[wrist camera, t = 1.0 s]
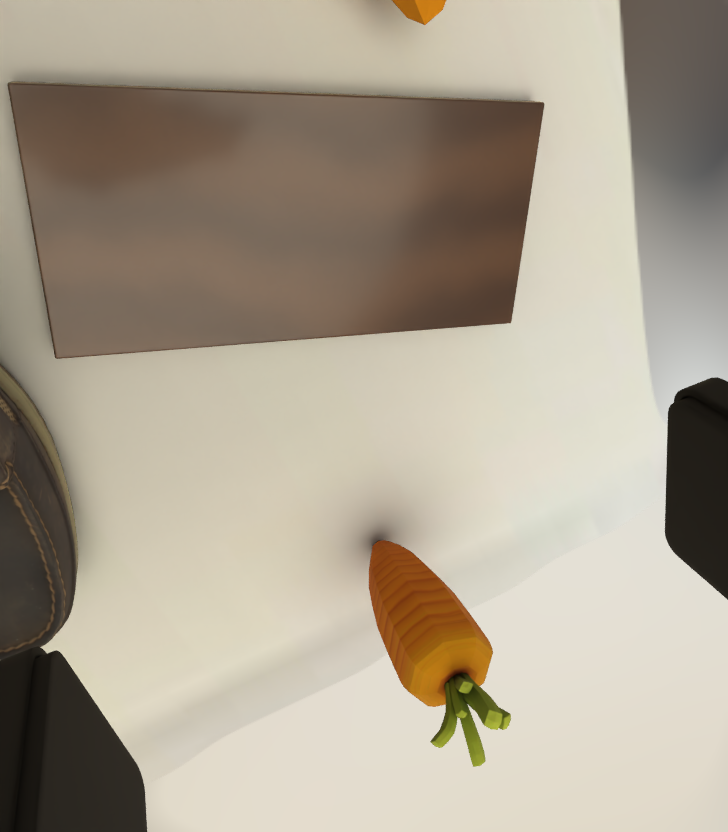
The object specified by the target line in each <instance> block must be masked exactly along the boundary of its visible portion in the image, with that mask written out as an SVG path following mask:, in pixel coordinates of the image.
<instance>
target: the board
mask: <svg viewBox="0 0 728 832" xmlns="http://www.w3.org/2000/svg"><path fill="white" fill-rule="evenodd" d="M8 90H9V96H10V101H11V107H12V113H13V119H14V124H15V130H16V136H17V141H18V147H19V153H20V159H21V164H22V170H23V176H24V182H25V187H26V193H27V199H28V205H29V210H30V216H31V222H32V227H33V233H34V239H35V245H36V250H37V256H38V262H39V268H40V273H41V279H42V285H43V290H44V296H45V302H46V308H47V313H48V319H49V325H50V331H51V336H52V342H53V348H54V354H55V358H57V359H59V358H72V357H85V356H97V355H110V354H123V353H136V352H148V351H161V350H174V349H186V348H199V347H212V346H225V345H237V344H250V343H263V342H275V341H288V340H301V339H314V338H326V337H339V336H352V335H365V334H377V333H390V332H403V331H415V330H428V329H441V328H454V327H466V326H479V325H492V324H505V323H511V320H512V313H513V307H514V300H515V294H516V287H517V280H518V274H519V267H520V261H521V254H522V248H523V241H524V234H525V228H526V221H527V215H528V208H529V201H530V195H531V188H532V182H533V175H534V169H535V162H536V155H537V149H538V142H539V136H540V129H541V122H542V116H543V109H544V103H543V102H535V101H517V100H491V99H464V98H437V97H411V96H384V95H357V94H331V93H304V92H277V91H251V90H224V89H197V88H171V87H144V86H117V85H91V84H64V83H37V82H10V83H8Z"/></svg>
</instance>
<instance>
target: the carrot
mask: <svg viewBox="0 0 728 832" xmlns="http://www.w3.org/2000/svg"><path fill="white" fill-rule="evenodd" d="M369 591H370V596H371V601H372V606H373V610H374V614H375V618H376V622H377V626H378V629H379V632H380V634H381V637H382V639H383V642H384V644H385V647H386V649H387V652H388V654H389V657H390V658H391V661H392V663H393V666H394V668H395V670H396V672H397V674H398V677H399V679H400V681H401V683H402V684H403V686H404V687H405V688H406V689H407V690H408V691H409V692H410V693H411V694H412V695H414V696H415V697H416V698H418V699H419V700H420V701H422V702H423V703H425V704H426V705H427V706H433V707H435V706H440V705H446V713H445V716H444V720H443V723H442V726H441V728H440V730H439V732H438V733H437V734H436V735H435V736H434V738H433V739H432V740H431V743H432V744H433V745H434V746H436V747H439V748H441V747H443V746H444V745H445V744H446V743H447V742H448V741H449V740H450V738H451V737H452V736H453V734H454V732H455V728H456V724H457V717H458V718H460V720H461V724H462V727H463V731H464V734H465V738H466V742H467V745H468V749H469V753H470V757H471V761H472V764H473V766H480V765H482V764H483V763H484V762H485V755H484V750H483V747H482V743H481V740H480V737H479V735H478V732H477V729H476V726H475V723H474V721H473V718H472V715H471V713H470V710H469V707H468V705H469V706H471V707H472V709H473V710H475V711H476V712H477V714H478V716H479V717H480V719H481V721H482V723H483V724H484V725H485V726H486V727H488V728H490V729H496V730H497V729H498V728H500V729H502V730H504V729H506V728H507V727H508V726H509V723H510V720H511V715H510V713H508V712H506V711H504V710H503V709H501V708H498V706H497V705H496V703H495V702H494V701H493V700H492V698H491V697H490V696H489V695H488V694H487V693H486V692H485V691H484V690H483V689H482V688H481V687H479V686H480V685H482V684H483V683H484V681H485V678H486V674H487V671H488V668H489V664H490V661H491V657H492V654H493V651H492V647H491V644H490V642H489V641H488V639H487V637H486V636H485V634H484V633H483V632H482V630H481V629H480V627H479V626H478V625H477V623H476V622H475V620H474V619H473V618H472V616H471V615H470V613H469V612H468V611H467V610H466V608H465V607H464V606H463V604H462V603H461V602H460V600H459V599H458V598H457V596H456V595H455V594H454V593H453V592H452V590H451V589H450V588H449V587H448V586H447V585H446V584H445V583H444V582H443V581H442V580H441V579H440V578H439V577H438V576H437V575H436V574H435V573H433V572H432V571H431V570H430V569H429V568H428V567H427V566H426V565H425V564H424V563H423V562H422V561H421V560H420V559H419V558H418V557H416V556H415V555H414V554H413V553H412V552H411V551H409V550H407V549H405V548H404V547H402V546H400V545H398V544H395V543H392V542H389V541H386V540H382V541H378V542H377V543H375V544H374V545H373V547H372V553H371V560H370V567H369ZM467 704H468V705H467Z"/></svg>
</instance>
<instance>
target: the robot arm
mask: <svg viewBox="0 0 728 832" xmlns="http://www.w3.org/2000/svg"><path fill="white" fill-rule="evenodd" d="M665 536H666V539H667V542H668V544H669V546H670V547H671V549H672V550H673V552H674V553H675V554H676V555H677V556H678V557H679V558H681V559H682V560H683V561H684V562H685V563H686V564H687V565H689V566H690V567H691V568H692V569H693V570H694V571H696V572H697V573H698V574H699V575H700V576H701V577H703V578H704V579H705V580H706V581H707V582H708V583H709V584H711V585H712V586H713V587H714V588H715V589H716V590H717V591H719V592H720V593H721V594H722V595H723V596H724V597H725V598H727V599H728V382H727V381H725V380H723V379H720V378H710V379H707V380H705V381H702V382H700V383H697V384H695V385H692V386H690V387H687V388H685V389H682V390H680V391H679V392H678V393H677V394H676V396H675V399H674V403H673V404H672V405H671V406H670V407H669V411H668V437H667V475H666V514H665ZM0 832H147V822H146V803H145V789H144V783H143V779H142V776H141V773H140V770H139V768H138V766H137V764H136V762H135V761H134V759H133V758H132V756H131V755H130V753H129V752H128V751H127V749H126V748H125V746H124V745H123V743H122V742H121V740H120V739H119V737H118V736H117V734H116V733H115V731H114V730H113V728H112V727H111V725H110V724H109V723H108V721H107V720H106V718H105V717H104V715H103V714H102V712H101V711H100V709H99V708H98V706H97V705H96V703H95V702H94V700H93V699H92V697H91V696H90V695H89V693H88V692H87V690H86V689H85V687H84V686H83V684H82V683H81V681H80V680H79V678H78V677H77V675H76V674H75V672H74V671H73V670H72V668H71V667H70V665H69V664H68V662H67V661H66V659H65V658H64V656H63V655H62V654H61V653H60V652H59V651H53V652H50V653H48V654H47V653H46V652H45V651H44V650H43V649H42V648H40V647H38V646H37V647H33V648H30V649H28V650H25V651H23V652H20V653H17V654H15V655H12V656H10V657H7V658H5V659H2V660H0Z"/></svg>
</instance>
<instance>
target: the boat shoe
mask: <svg viewBox="0 0 728 832" xmlns="http://www.w3.org/2000/svg"><path fill="white" fill-rule="evenodd" d="M77 568H78V548H77V536H76V528H75V520H74V515H73V510H72V504H71V499H70V495H69V491H68V487H67V483H66V480H65V476H64V473H63V469H62V466H61V463H60V460H59V457H58V453H57V450H56V447H55V444H54V442H53V439H52V436H51V435H50V433H49V431H48V429H47V427H46V424H45V422H44V420H43V418H42V417H41V415H40V413H39V411H38V409H37V408H36V406H35V405H34V403H33V402H32V400H31V399H30V398H29V396H28V395H27V394H26V392H25V391H24V390H23V389H22V387H21V386H20V385H19V384H18V382H17V381H16V380H15V379H14V378H13V377H12V376H11V375H10V374H9V373H8V372H7V371H6V370H5V369H4V368H3V367H2V366H1V365H0V660H2V659H5V658H7V657H10V656H12V655H15V654H17V653H20V652H23V651H25V650H28V649H30V648H33V647H37V646H38V647H41V646H43V645H45V644H47V643H48V642H49V641H50V640H51V639H52V638H53V637H54V636H55V634H56V633H57V632H58V631H59V630H60V629H61V628H62V627H63V625H64V624H65V622H66V621H67V619H68V617H69V615H70V613H71V609H72V606H73V601H74V595H75V587H76V574H77Z"/></svg>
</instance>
